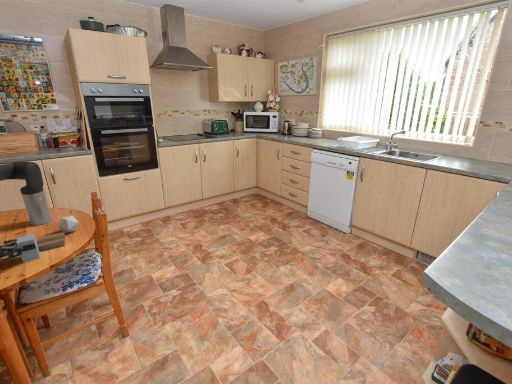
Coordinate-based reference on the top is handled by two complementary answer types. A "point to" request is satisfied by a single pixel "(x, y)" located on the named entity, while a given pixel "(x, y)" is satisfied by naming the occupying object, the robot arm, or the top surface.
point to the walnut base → (51, 241)
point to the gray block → (30, 253)
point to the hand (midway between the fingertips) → (35, 242)
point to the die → (68, 224)
